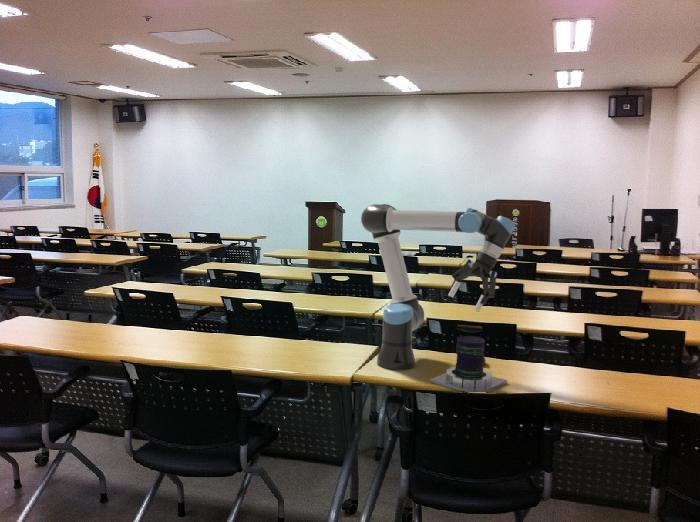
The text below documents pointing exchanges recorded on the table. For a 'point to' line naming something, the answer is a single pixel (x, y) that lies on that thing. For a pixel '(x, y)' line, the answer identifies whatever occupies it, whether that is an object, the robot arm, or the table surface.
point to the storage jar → (469, 357)
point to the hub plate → (468, 389)
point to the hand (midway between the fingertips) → (463, 303)
